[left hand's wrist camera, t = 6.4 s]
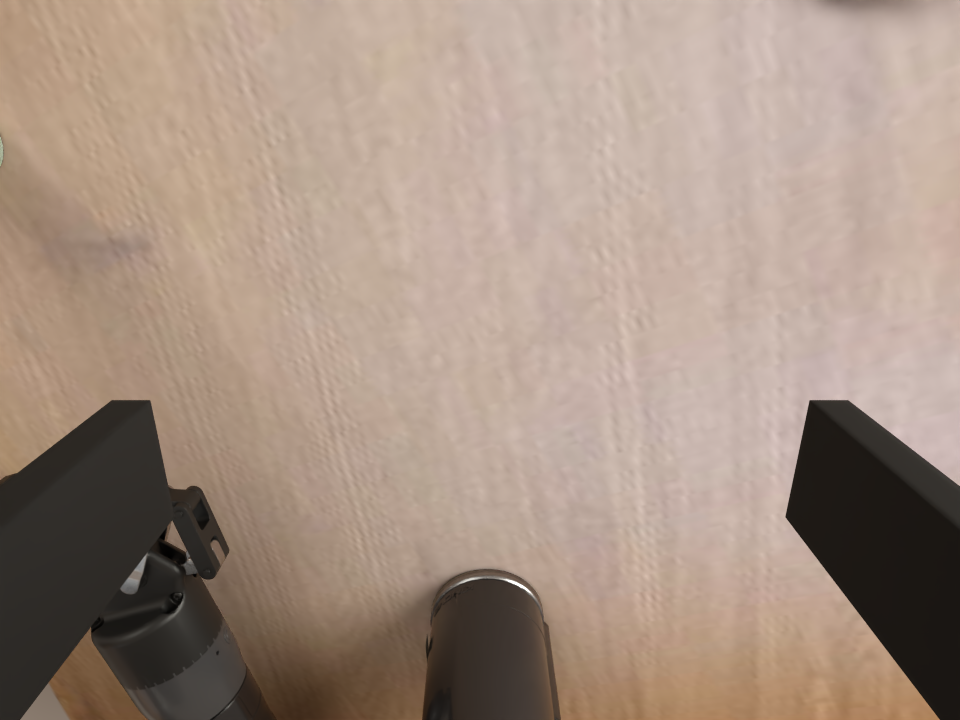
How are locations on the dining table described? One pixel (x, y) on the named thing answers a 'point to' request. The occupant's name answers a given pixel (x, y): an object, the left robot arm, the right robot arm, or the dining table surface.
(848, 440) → the left robot arm
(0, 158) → the bottle
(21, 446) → the dining table surface
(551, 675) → the right robot arm
